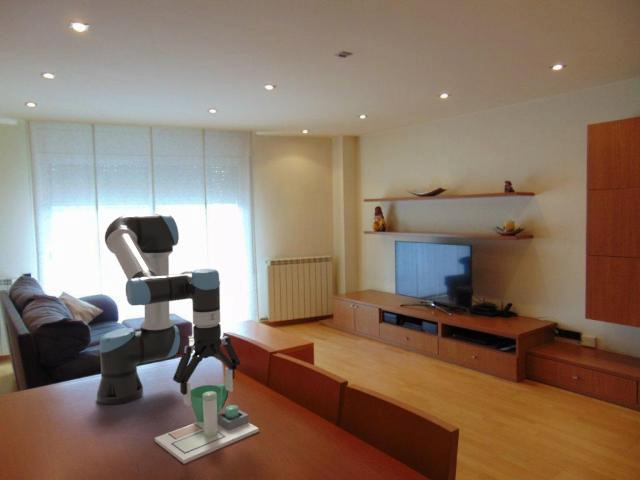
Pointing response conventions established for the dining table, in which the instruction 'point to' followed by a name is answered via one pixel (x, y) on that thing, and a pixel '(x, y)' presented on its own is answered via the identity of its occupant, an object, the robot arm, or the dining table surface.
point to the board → (196, 444)
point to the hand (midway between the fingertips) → (209, 397)
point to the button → (231, 412)
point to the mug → (198, 398)
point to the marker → (210, 413)
